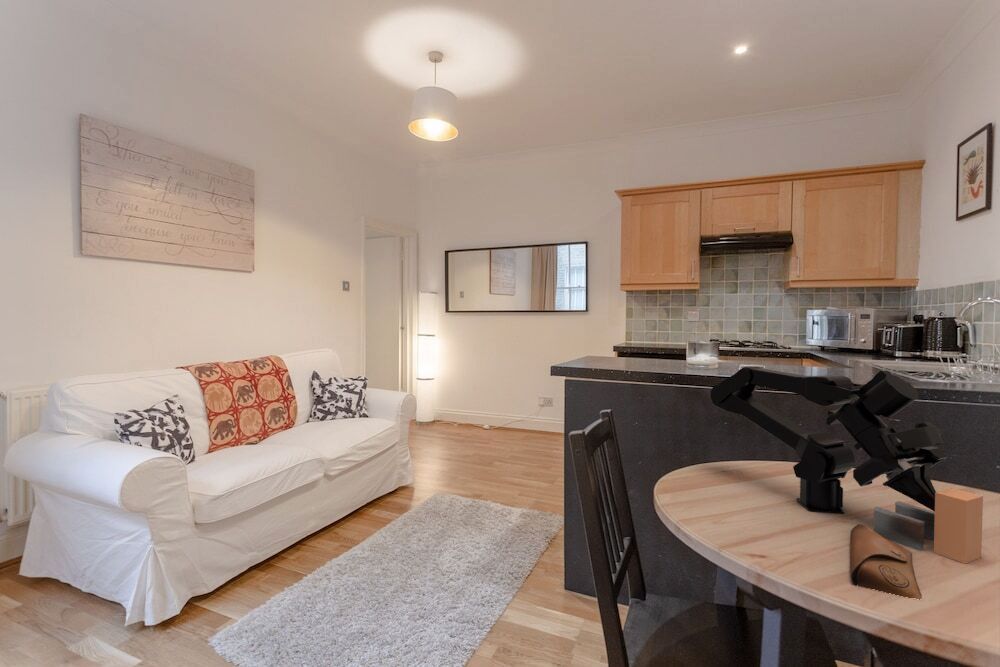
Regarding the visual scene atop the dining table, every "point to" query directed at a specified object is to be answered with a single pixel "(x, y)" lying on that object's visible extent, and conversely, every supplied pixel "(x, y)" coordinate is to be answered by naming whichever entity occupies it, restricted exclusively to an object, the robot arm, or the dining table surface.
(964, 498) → the block
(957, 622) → the dining table surface
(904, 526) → the silver twin-wall channel
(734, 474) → the dining table surface
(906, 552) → the sunglasses case
